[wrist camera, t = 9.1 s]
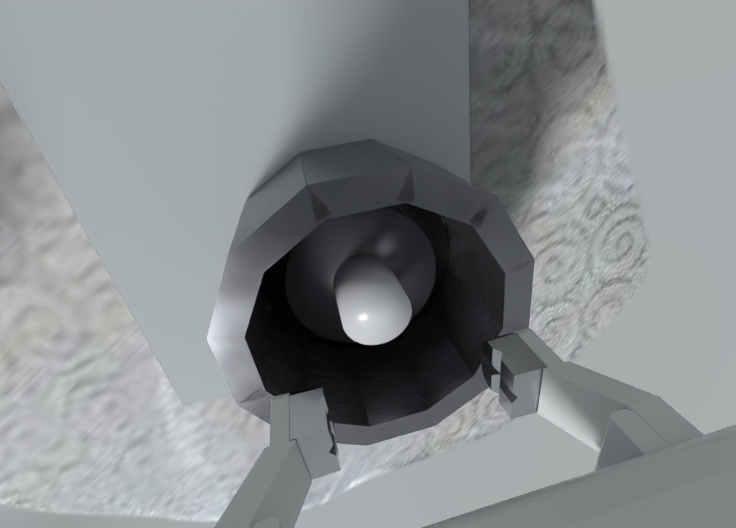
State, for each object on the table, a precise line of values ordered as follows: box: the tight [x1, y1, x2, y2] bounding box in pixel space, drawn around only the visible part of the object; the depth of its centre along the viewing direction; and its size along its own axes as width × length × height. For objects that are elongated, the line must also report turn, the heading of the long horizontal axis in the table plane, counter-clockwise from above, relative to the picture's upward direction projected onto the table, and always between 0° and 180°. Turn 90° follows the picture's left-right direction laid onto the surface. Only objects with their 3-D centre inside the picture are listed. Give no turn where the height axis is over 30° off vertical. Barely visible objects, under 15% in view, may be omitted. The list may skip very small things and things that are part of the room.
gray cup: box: [207, 138, 534, 445], centre depth 17 cm, size 12×12×6 cm
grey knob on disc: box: [285, 206, 436, 345], centre depth 17 cm, size 8×8×4 cm
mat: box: [0, 0, 470, 405], centre depth 17 cm, size 22×18×1 cm
